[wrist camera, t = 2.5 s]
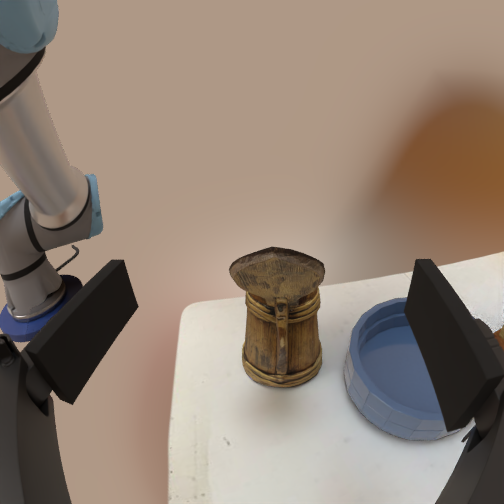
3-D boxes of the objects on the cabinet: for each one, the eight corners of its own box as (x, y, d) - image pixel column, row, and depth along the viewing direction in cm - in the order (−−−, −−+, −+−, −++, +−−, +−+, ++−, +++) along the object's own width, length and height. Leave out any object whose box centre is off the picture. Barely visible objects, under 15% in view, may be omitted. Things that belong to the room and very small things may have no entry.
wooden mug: (228, 422, 23) (187, 249, 15) (247, 330, 35) (233, 187, 27) (324, 426, 22) (358, 248, 14) (319, 331, 34) (326, 185, 26)
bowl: (309, 375, 28) (312, 346, 26) (400, 308, 36) (407, 281, 34) (433, 475, 14) (457, 455, 12) (499, 365, 22) (515, 338, 20)
